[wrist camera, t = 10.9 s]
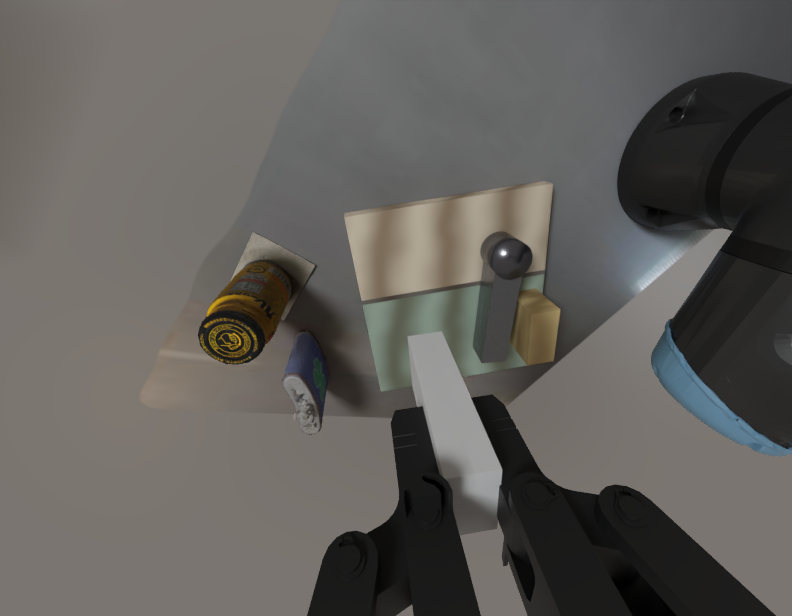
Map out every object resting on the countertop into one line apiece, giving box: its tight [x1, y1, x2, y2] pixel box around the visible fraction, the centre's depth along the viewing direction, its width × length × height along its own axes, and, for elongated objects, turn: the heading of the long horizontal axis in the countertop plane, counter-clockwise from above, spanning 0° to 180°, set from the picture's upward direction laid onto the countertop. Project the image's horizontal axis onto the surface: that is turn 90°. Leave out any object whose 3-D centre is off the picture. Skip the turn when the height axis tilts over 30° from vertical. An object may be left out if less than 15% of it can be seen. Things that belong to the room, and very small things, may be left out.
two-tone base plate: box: [344, 181, 560, 392], centre depth 37 cm, size 22×24×8 cm
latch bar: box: [472, 231, 533, 363], centre depth 37 cm, size 15×4×4 cm, turn 0°
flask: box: [282, 331, 329, 435], centre depth 38 cm, size 9×3×11 cm, turn 9°
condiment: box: [198, 232, 315, 364], centre depth 32 cm, size 7×8×12 cm
